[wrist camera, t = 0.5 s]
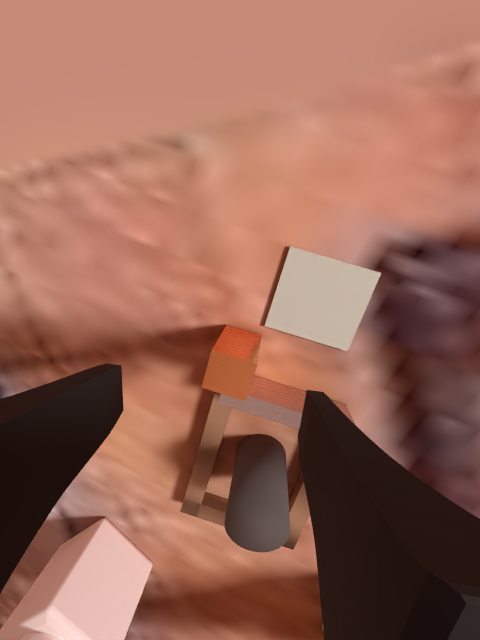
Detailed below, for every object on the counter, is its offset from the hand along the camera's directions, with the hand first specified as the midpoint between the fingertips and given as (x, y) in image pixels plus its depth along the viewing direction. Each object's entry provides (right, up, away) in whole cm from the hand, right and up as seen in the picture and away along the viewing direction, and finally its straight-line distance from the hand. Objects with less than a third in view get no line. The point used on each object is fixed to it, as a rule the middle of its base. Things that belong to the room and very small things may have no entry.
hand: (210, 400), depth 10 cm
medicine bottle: (-12, -20, +17) cm, 29 cm away
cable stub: (+3, -8, +12) cm, 15 cm away
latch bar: (+4, -1, +10) cm, 11 cm away
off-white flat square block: (+7, +4, +8) cm, 11 cm away
